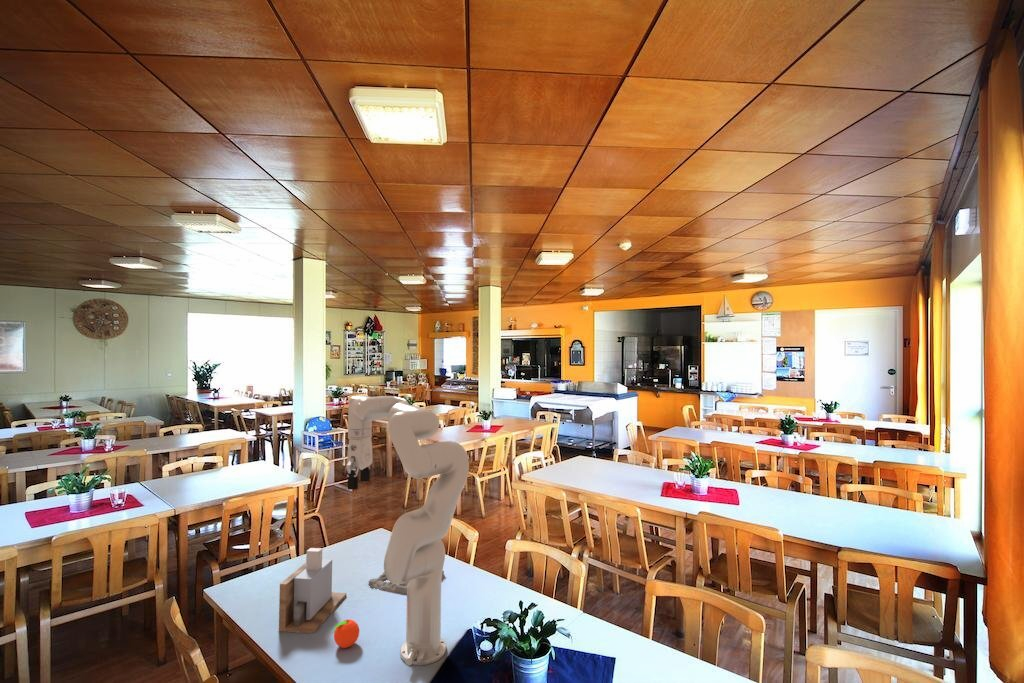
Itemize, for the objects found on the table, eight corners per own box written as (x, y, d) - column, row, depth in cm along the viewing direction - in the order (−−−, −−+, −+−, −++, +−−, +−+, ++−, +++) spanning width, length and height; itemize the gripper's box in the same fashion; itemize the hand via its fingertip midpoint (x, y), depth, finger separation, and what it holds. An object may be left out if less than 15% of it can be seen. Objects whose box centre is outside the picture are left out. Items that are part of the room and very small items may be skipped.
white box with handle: (309, 620, 144) (311, 559, 145) (293, 619, 145) (294, 558, 145) (331, 597, 158) (332, 541, 159) (316, 596, 159) (317, 540, 159)
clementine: (333, 658, 129) (334, 631, 129) (326, 645, 134) (327, 620, 134) (362, 647, 133) (363, 622, 134) (354, 635, 139) (355, 611, 139)
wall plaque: (447, 576, 178) (447, 565, 178) (421, 600, 160) (421, 588, 160) (393, 566, 186) (394, 556, 186) (363, 588, 168) (364, 577, 168)
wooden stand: (313, 633, 140) (314, 585, 140) (278, 631, 141) (279, 583, 141) (346, 596, 162) (347, 555, 162) (315, 594, 163) (316, 553, 163)
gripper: (360, 437, 147) (359, 492, 147) (380, 429, 164) (379, 478, 164) (337, 437, 148) (336, 492, 147) (359, 429, 165) (358, 478, 164)
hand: (359, 485), depth 155 cm, fingers open, 9 cm apart
